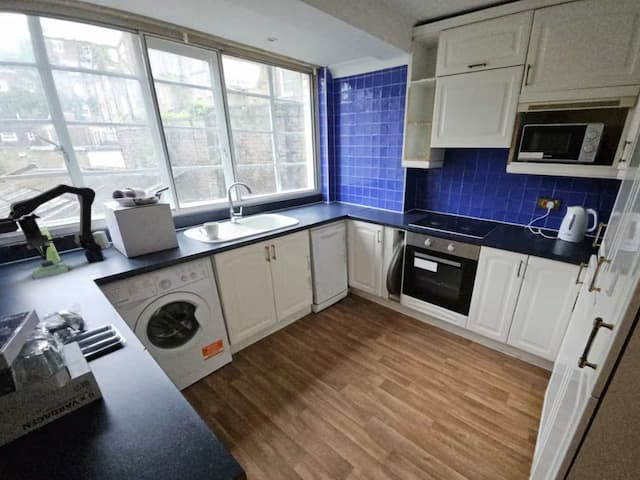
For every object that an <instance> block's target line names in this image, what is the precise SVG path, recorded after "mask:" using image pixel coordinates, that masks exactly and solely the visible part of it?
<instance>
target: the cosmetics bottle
mask: <svg viewBox="0 0 640 480" xmlns="http://www.w3.org/2000/svg"><path fill="white" fill-rule="evenodd" d="M92 236H93V239H94V242H95V244H98V245H100V246H101V250H104V249H109V248H110V247H111V244H110V241H109V239H108V236H107V234H106V231H105V230H97V231H95V232H93V233H92Z"/></svg>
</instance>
